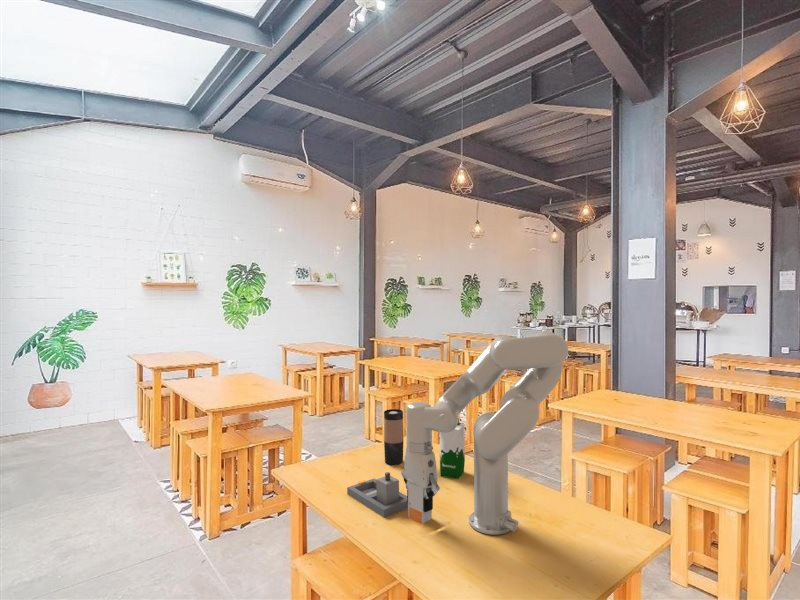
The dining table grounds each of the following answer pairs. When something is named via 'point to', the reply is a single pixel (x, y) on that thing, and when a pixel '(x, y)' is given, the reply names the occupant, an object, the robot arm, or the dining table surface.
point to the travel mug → (393, 436)
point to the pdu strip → (375, 498)
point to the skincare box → (417, 503)
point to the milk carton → (452, 452)
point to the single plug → (387, 489)
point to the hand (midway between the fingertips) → (419, 505)
